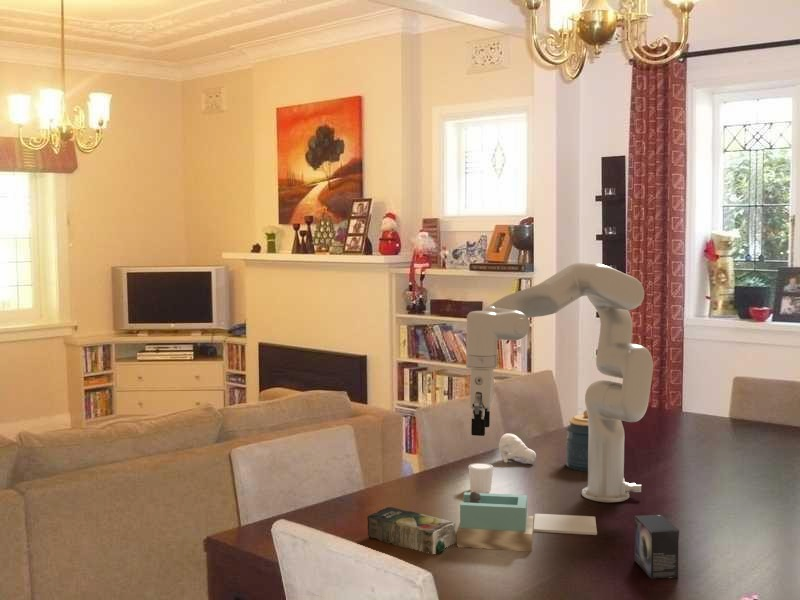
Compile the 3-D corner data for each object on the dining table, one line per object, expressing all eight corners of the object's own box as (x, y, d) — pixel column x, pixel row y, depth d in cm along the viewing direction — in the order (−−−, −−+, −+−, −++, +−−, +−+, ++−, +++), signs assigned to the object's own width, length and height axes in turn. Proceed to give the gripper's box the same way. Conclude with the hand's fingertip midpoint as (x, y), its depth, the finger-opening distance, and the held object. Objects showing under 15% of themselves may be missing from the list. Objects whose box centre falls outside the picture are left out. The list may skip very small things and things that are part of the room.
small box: (632, 561, 200) (633, 514, 199) (661, 560, 201) (662, 513, 200) (649, 579, 190) (650, 530, 189) (679, 578, 190) (680, 529, 190)
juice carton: (460, 544, 212) (460, 518, 211) (437, 557, 204) (437, 530, 203) (390, 529, 223) (389, 504, 223) (366, 541, 215) (365, 515, 215)
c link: (527, 517, 218) (527, 495, 217) (525, 531, 208) (525, 508, 207) (464, 514, 220) (464, 492, 220) (460, 528, 210) (460, 504, 210)
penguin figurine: (506, 430, 289) (541, 438, 282) (504, 456, 290) (538, 465, 283) (497, 434, 283) (532, 442, 277) (495, 460, 284) (530, 469, 278)
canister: (561, 469, 274) (562, 412, 273) (570, 459, 286) (570, 404, 285) (605, 474, 270) (606, 415, 268) (612, 463, 281) (613, 407, 280)
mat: (595, 518, 229) (595, 516, 229) (596, 534, 217) (597, 532, 217) (534, 515, 231) (534, 513, 231) (533, 531, 220) (533, 529, 220)
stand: (533, 532, 219) (533, 486, 218) (531, 551, 206) (532, 502, 205) (463, 528, 222) (463, 483, 221) (457, 547, 209) (457, 499, 208)
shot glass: (491, 494, 250) (491, 469, 249) (466, 493, 251) (466, 468, 250) (494, 487, 256) (494, 463, 256) (469, 486, 258) (470, 462, 257)
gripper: (493, 367, 212) (492, 439, 214) (500, 357, 229) (499, 424, 230) (461, 366, 214) (460, 438, 215) (471, 356, 231) (470, 423, 232)
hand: (480, 431), depth 223 cm, fingers open, 9 cm apart
